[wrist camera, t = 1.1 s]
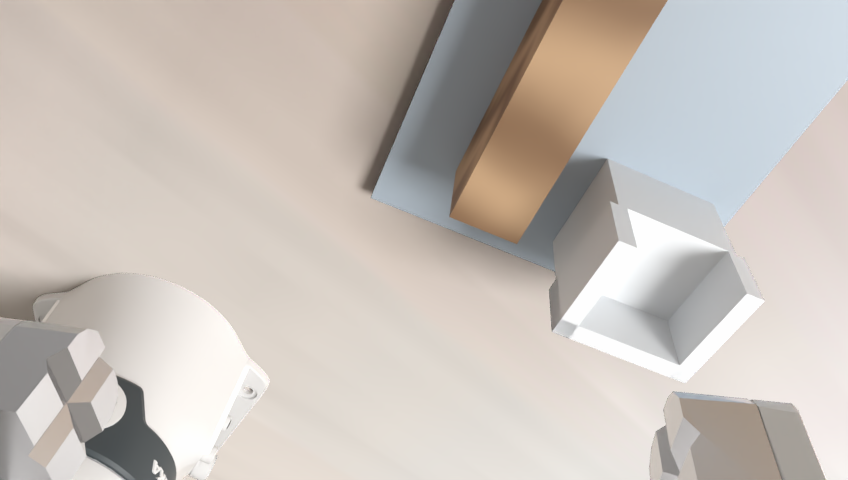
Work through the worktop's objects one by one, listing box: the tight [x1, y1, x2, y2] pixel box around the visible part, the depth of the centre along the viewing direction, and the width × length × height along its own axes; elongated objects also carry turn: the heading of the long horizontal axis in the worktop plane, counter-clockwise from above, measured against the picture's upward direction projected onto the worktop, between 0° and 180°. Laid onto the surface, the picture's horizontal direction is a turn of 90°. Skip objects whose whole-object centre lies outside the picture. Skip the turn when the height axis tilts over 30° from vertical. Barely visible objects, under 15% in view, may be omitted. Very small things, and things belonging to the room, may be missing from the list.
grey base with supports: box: [371, 0, 848, 383], centre depth 30 cm, size 34×20×10 cm, turn 158°
